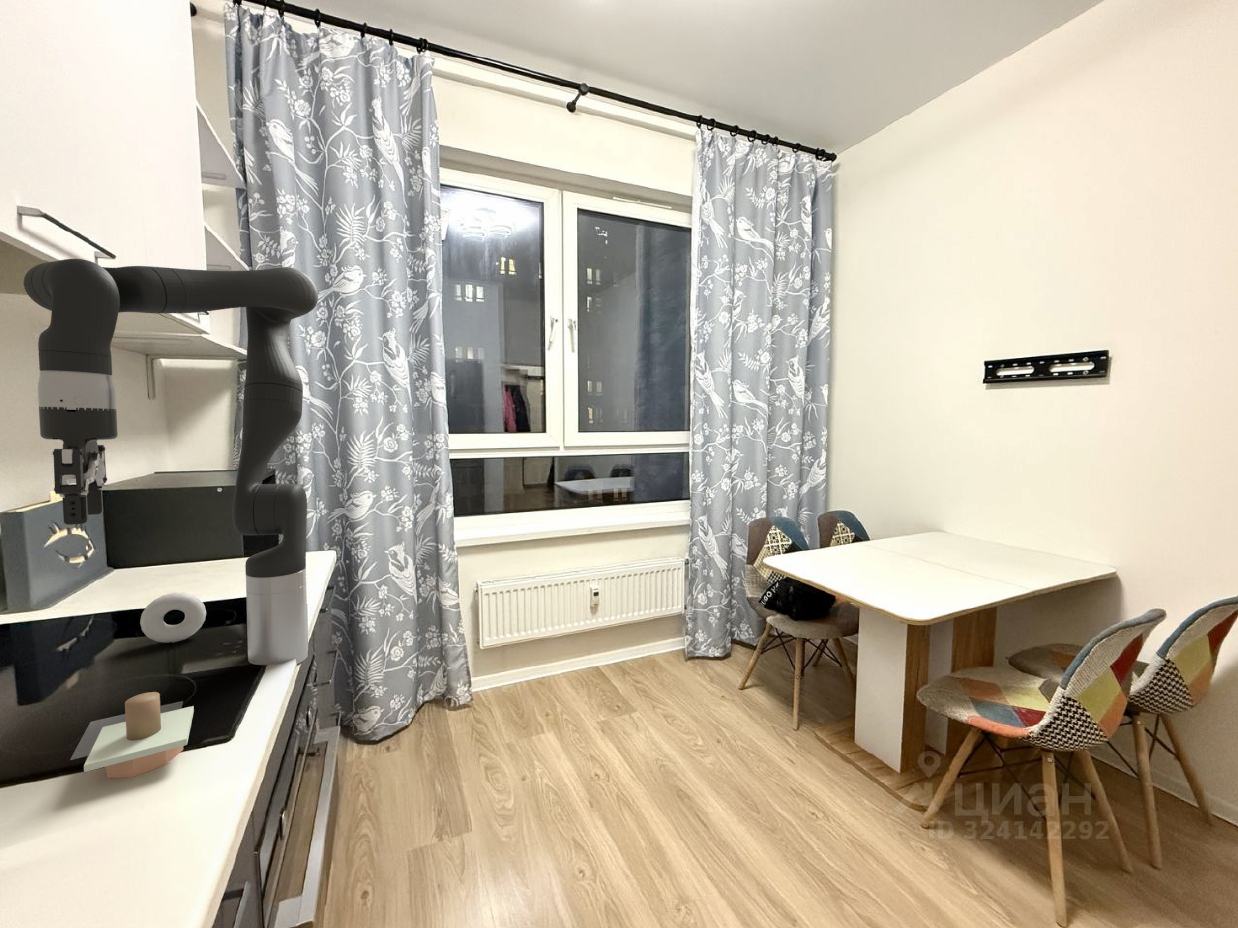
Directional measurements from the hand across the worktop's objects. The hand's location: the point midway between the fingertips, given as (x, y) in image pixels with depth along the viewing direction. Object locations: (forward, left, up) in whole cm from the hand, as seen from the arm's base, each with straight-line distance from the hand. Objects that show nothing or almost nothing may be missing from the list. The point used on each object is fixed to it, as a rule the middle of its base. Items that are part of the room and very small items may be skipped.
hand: (84, 518), depth 73 cm
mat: (+5, +9, -30) cm, 32 cm away
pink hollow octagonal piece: (+12, +16, -30) cm, 36 cm away
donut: (-28, -9, -30) cm, 42 cm away
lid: (+12, +16, -26) cm, 33 cm away
